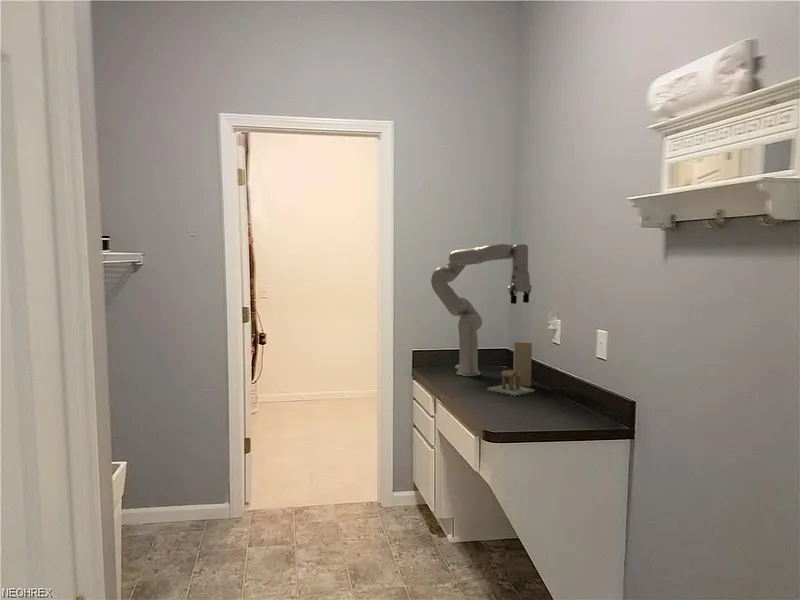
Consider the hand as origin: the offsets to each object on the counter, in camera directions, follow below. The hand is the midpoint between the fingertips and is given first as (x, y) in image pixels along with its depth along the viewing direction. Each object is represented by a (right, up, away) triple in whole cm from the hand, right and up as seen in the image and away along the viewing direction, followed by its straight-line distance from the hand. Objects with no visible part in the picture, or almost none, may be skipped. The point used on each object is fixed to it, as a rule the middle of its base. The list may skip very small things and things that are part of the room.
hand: (519, 303), depth 294 cm
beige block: (-2, -40, -14) cm, 42 cm away
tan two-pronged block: (-10, -39, -26) cm, 48 cm away
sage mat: (-10, -40, -26) cm, 49 cm away
